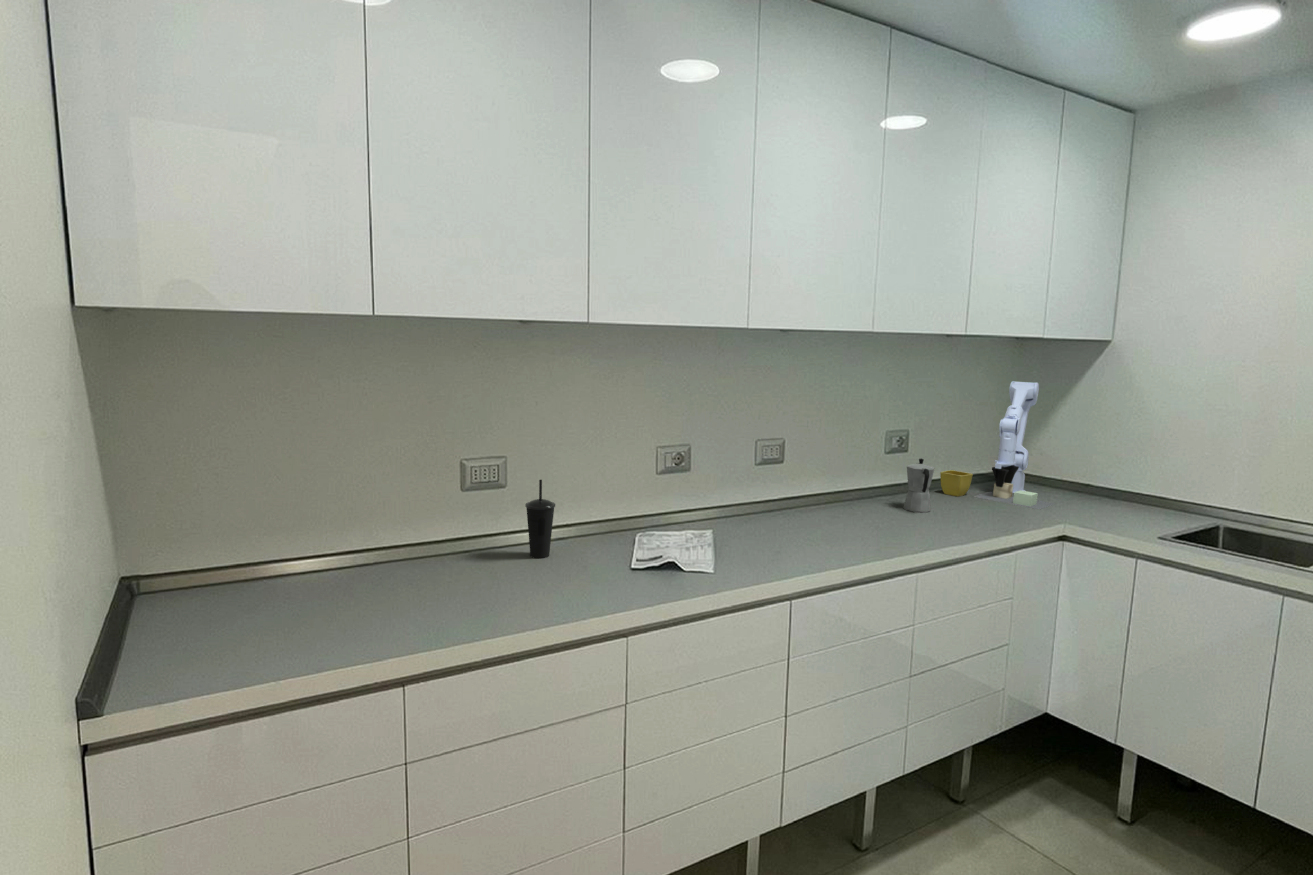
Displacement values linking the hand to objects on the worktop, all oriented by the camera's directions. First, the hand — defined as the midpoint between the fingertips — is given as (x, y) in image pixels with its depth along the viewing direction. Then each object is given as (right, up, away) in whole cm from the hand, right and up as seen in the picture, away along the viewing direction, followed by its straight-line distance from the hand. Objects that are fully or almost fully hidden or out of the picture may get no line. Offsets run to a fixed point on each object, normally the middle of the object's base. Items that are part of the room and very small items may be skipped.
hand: (1003, 485), depth 273 cm
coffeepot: (-41, -7, -23) cm, 47 cm away
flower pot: (-18, -4, +2) cm, 18 cm away
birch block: (0, -4, +1) cm, 4 cm away
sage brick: (+3, -6, -10) cm, 12 cm away
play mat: (+1, -6, -5) cm, 7 cm away
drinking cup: (-162, -13, -86) cm, 184 cm away
